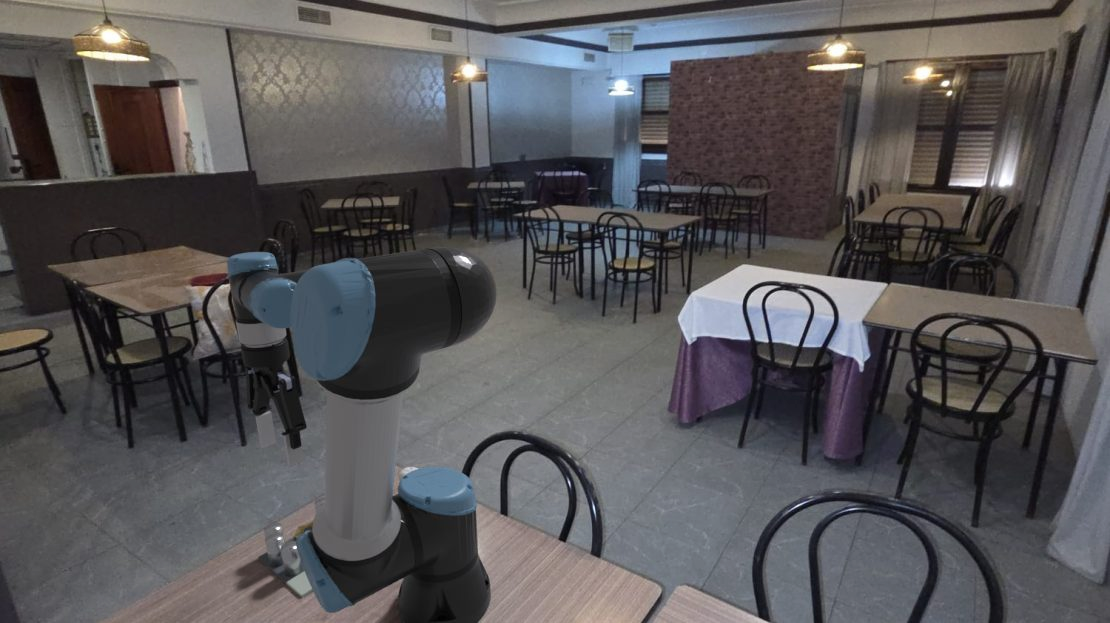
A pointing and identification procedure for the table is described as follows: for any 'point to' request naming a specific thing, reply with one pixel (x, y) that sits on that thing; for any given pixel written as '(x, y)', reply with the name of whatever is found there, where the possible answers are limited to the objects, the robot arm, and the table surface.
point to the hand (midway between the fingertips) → (281, 453)
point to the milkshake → (405, 471)
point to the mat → (295, 582)
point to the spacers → (284, 547)
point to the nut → (303, 529)
